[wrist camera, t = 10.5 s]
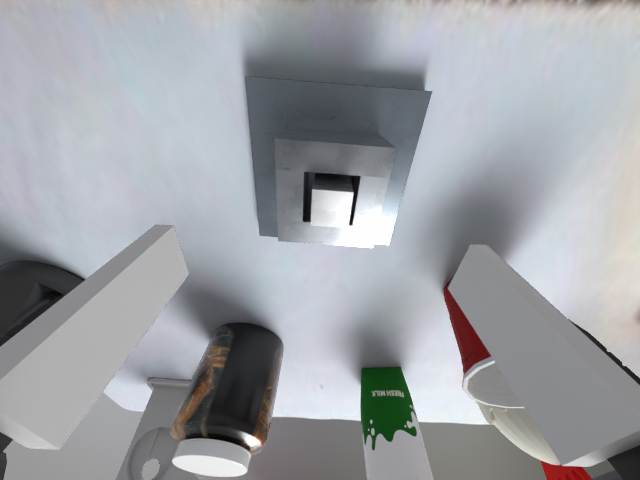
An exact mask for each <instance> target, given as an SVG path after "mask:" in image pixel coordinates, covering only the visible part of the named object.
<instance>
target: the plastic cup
mask: <svg viewBox="0 0 640 480" xmlns="http://www.w3.org/2000/svg"><path fill="white" fill-rule="evenodd" d="M451 281H452V280H451ZM451 281H450V282H449V283H448V284H447V286H446V287H445V289H444V297H445V302H446V305H447V308H448V311H449V314H450V320H451V324H452V327H453V330H454V334H455V337H456V340H457V344H458V347H459V350H460V354H461V357H462V359H461V360H462V364H463V372H464V376H463V384H462V387H463V391H464V392H465V393H466V394H467V395H468V396H469V397H470V398H471V399H473V400H476V401H478V402H480V403H483V404H485V405H491V406H497V407H503V408H524V406H523V404H522V403H521V401H520V400H519V398H518V397H517V395H516V394H515V392H514V390H513V389H512V387H511V386H510V384H509V383H508V381H507V380H506V378H505V376H504V375H503V373H502V372H501V370H500V369H499V367H498V366H497V364H496V363H495V361H494V359H493V358H492V356H491V355H490V353H489V352H488V350H487V349H486V347H485V345H484V344H483V342H482V341H481V339H480V338H479V336H478V335H477V333H476V331H475V330H474V328H473V327H472V325H471V324H470V322H469V321H468V319H467V318H466V316H465V314H464V313H463V311H462V310H461V308H460V307H459V305H458V304H457V302H456V300H455V299H454V297H453V296H452V294H451V293H450V291H449V290H448V287H449V285H450V283H451Z"/></svg>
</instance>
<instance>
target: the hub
mask: <svg viewBox="0 0 640 480" xmlns="http://www.w3.org/2000/svg"><path fill="white" fill-rule="evenodd" d="M274 145H275V171H276V196H277V222H278V241H286V242H299V243H313V244H326V245H340V246H353V247H367V248H373V245H374V240H375V236H376V232H377V228H378V224H379V219H380V215H381V211H382V207H383V203H384V198H385V194H386V190H387V186H388V182H389V178H390V173H391V169H392V165H393V161H394V157H395V152H396V147H395V146H393V145H392V144H391V143H390V142H388V141H387V140H386V139H385V138H384V137H382V136H381V135H380V134H369V133H356V132H343V131H331V130H318V129H306V128H293V127H287V128H286V129H285V130H284V131H282V132H281V133H280V134H279V135H278V136H277V137H275V138H274ZM309 172H316V173H329V174H342V175H351V177H350V179H351V183H352V187H353V191H354V194H353V201H352V207H351V214H350V220H349V226H348V228H337V227H323V226H310V225H311V205H312V195H309V194H308V184H309Z"/></svg>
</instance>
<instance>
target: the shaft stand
mask: <svg viewBox="0 0 640 480" xmlns="http://www.w3.org/2000/svg"><path fill="white" fill-rule="evenodd" d="M245 81H246V92H247V102H248V113H249V124H250V135H251V146H252V157H253V167H254V178H255V189H256V200H257V211H258V222H259V233H260V236H271V237H278V222H277V196H276V171H275V145H274V138H275V137H277V136H278V135H279V134H280V133H281V132H282V131H284V130H285V129H286V128H287V127H293V128H306V129H318V130H331V131H343V132H356V133H369V134H380V135H381V136H382V137H384V138H385V139H386V140H387V141H388V142H390V143H391V144H392V145H393V146H395V147H396V152H395V157H394V161H393V165H392V169H391V173H390V178H389V182H388V186H387V190H386V194H385V198H384V203H383V207H382V211H381V215H380V219H379V224H378V228H377V232H376V236H375V240H374V244H379V245H389V242H390V239H391V235H392V232H393V228H394V225H395V221H396V218H397V214H398V210H399V207H400V203H401V200H402V196H403V193H404V189H405V186H406V182H407V179H408V175H409V172H410V168H411V164H412V161H413V157H414V154H415V150H416V147H417V143H418V140H419V136H420V133H421V129H422V126H423V122H424V118H425V115H426V111H427V108H428V104H429V101H430V97H431V94H432V91H421V90H409V89H396V88H384V87H371V86H359V85H347V84H334V83H322V82H309V81H297V80H285V79H272V78H260V77H247V76H245ZM350 177H351V175H342V174H329V173H316V172H309V184H308V194H309V195H312V205H311V225H310V226H323V227H337V228H348V226H349V220H350V214H351V207H352V201H353V194H354V191H353V187H352V183H351V179H350Z"/></svg>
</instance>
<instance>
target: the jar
mask: <svg viewBox="0 0 640 480" xmlns="http://www.w3.org/2000/svg"><path fill="white" fill-rule="evenodd" d="M282 357H283V344H282V342H281V340H280V339H279V338H278V337H277V336H276V335H275V334H273V333H272V332H270V331H269V330H267V329H265V328H262V327H260V326H257V325H253V324H247V323H231V324H227V325H224V326H221V327H220V328H218V329H217V330H216V331H215V333H214V334H213V336H212V338H211V340H210V342H209V344H208V346H207V349H206V351H205V353H204V355H203V357H202V359H201V361H200V363H199V365H198V367H197V369H196V372H195V374H194V376H193V378H192V380H191V382H190V384H189V386H188V389H187V391H186V393H185V395H184V397H183V399H182V402H181V404H180V406H179V408H178V411H177V413H176V415H175V418H174V420H173V423H172V426H171V429H170V435H171V437H172V438H173V440H174V441H175V442H177V443H178V445H177V449H176V452H175V454H174V456H173V459H172V463H173V464H174V465H175V466H176V467H178V468H180V469H183V470H185V471H189V472H192V473H196V474H202V475H207V476H216V477H234V476H240V475H243V474H245V473H246V472H247V470H248V465H249V460H250V458H251V455H254V454H256V453H259V452H260V451H261V450H263V448H264V447H265V444H266V441H267V438H268V433H269V429H270V424H271V418H272V414H273V408H274V403H275V397H276V392H277V386H278V380H279V375H280V369H281V363H282Z"/></svg>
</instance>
